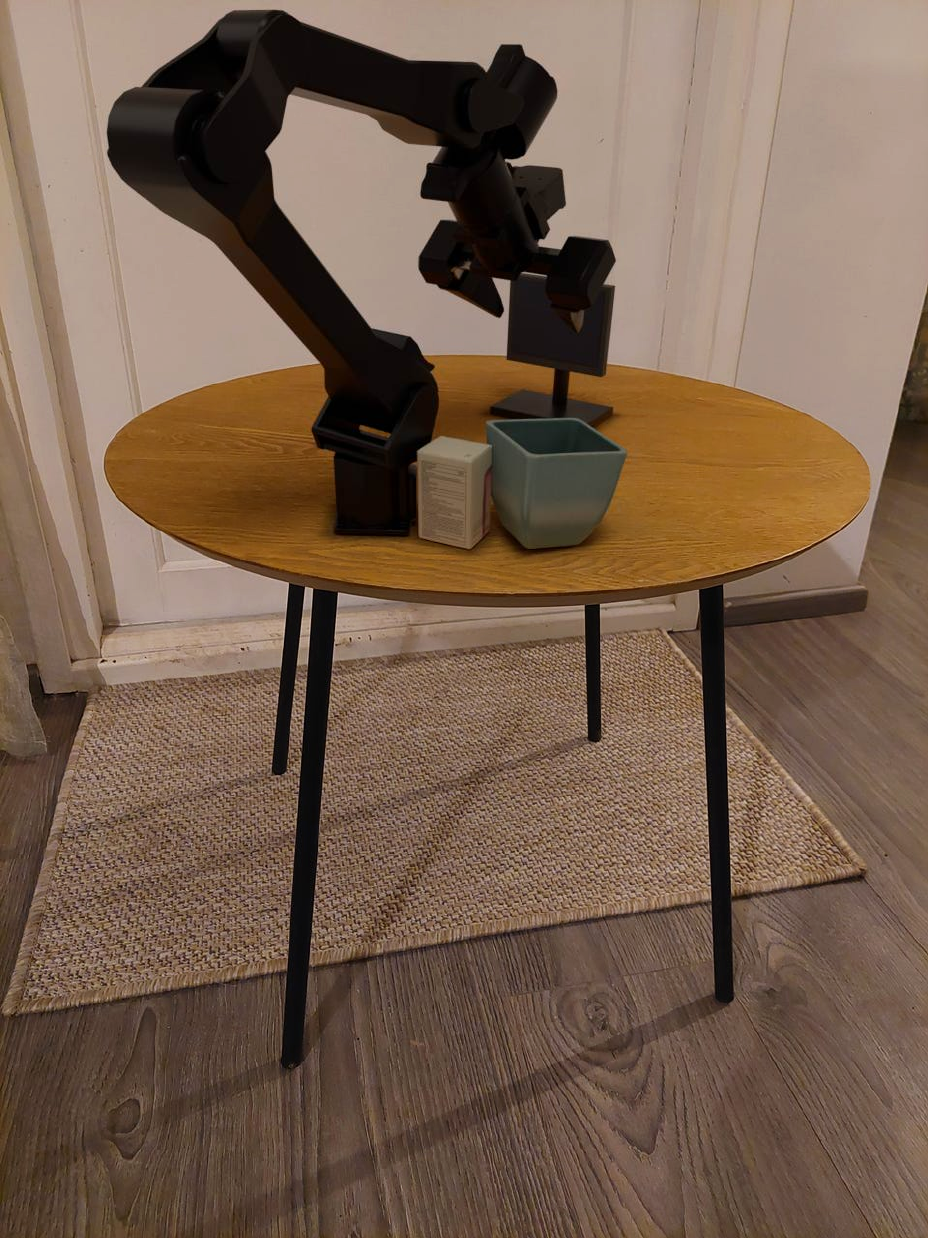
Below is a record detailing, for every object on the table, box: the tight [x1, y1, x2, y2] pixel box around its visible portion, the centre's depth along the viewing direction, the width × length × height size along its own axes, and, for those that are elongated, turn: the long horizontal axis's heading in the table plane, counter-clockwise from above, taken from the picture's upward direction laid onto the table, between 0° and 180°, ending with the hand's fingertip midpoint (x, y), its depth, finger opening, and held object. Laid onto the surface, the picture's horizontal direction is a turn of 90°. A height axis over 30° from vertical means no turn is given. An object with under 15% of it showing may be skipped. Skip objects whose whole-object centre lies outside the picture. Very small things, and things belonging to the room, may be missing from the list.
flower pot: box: [485, 418, 629, 550], centre depth 75 cm, size 9×9×9 cm
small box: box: [416, 435, 492, 550], centre depth 75 cm, size 5×4×8 cm
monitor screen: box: [505, 272, 616, 378], centre depth 100 cm, size 1×12×10 cm, turn 59°
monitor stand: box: [489, 369, 614, 429], centre depth 103 cm, size 8×12×7 cm, turn 59°
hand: (539, 321), depth 91 cm, fingers open, 9 cm apart
